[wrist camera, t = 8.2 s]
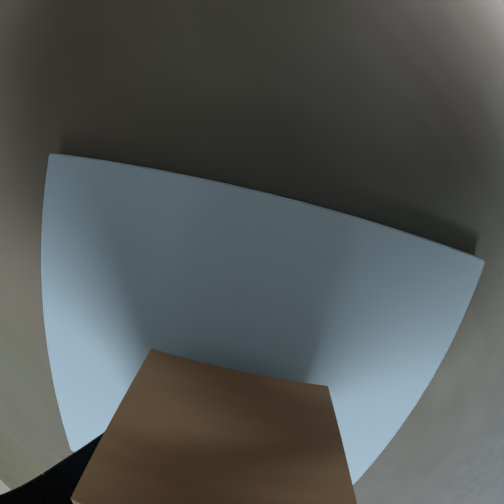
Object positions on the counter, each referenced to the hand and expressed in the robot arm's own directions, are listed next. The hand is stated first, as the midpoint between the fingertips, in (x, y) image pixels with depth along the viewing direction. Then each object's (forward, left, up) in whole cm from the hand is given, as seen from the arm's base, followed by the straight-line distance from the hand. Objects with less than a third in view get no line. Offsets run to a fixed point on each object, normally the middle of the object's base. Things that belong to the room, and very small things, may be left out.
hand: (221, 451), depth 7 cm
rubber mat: (0, 0, -3) cm, 3 cm away
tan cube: (0, 0, -1) cm, 1 cm away
